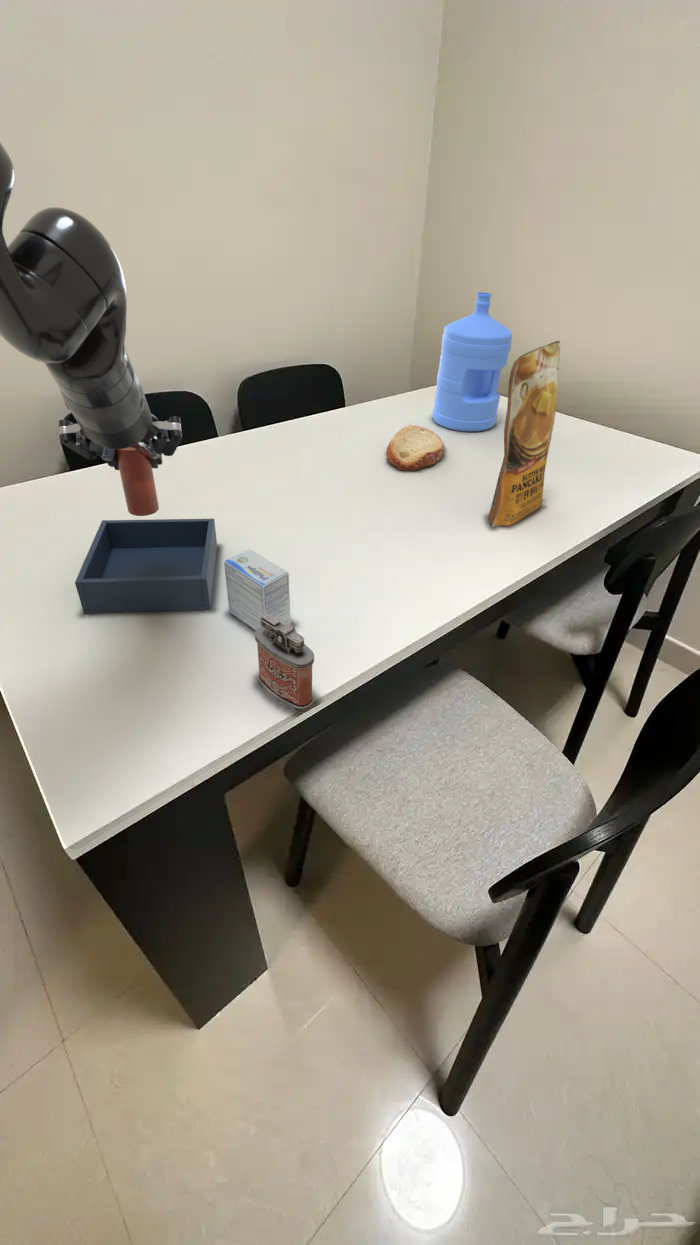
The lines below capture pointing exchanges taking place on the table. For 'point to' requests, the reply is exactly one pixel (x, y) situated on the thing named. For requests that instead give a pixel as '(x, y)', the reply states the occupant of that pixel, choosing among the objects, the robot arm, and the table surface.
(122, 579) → the bin
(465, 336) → the water jug
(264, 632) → the lighter
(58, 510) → the table surface
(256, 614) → the medicine box
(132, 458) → the terracotta red cylinder
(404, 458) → the slice of bread
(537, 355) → the pancake mix bag
